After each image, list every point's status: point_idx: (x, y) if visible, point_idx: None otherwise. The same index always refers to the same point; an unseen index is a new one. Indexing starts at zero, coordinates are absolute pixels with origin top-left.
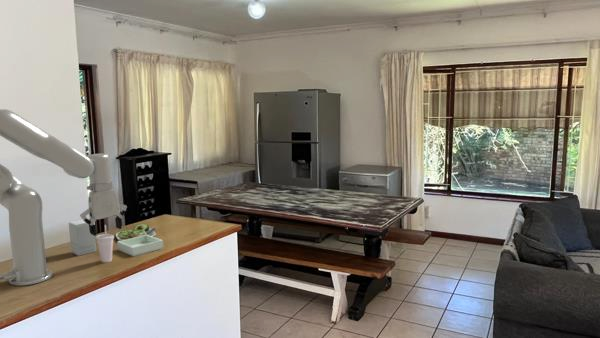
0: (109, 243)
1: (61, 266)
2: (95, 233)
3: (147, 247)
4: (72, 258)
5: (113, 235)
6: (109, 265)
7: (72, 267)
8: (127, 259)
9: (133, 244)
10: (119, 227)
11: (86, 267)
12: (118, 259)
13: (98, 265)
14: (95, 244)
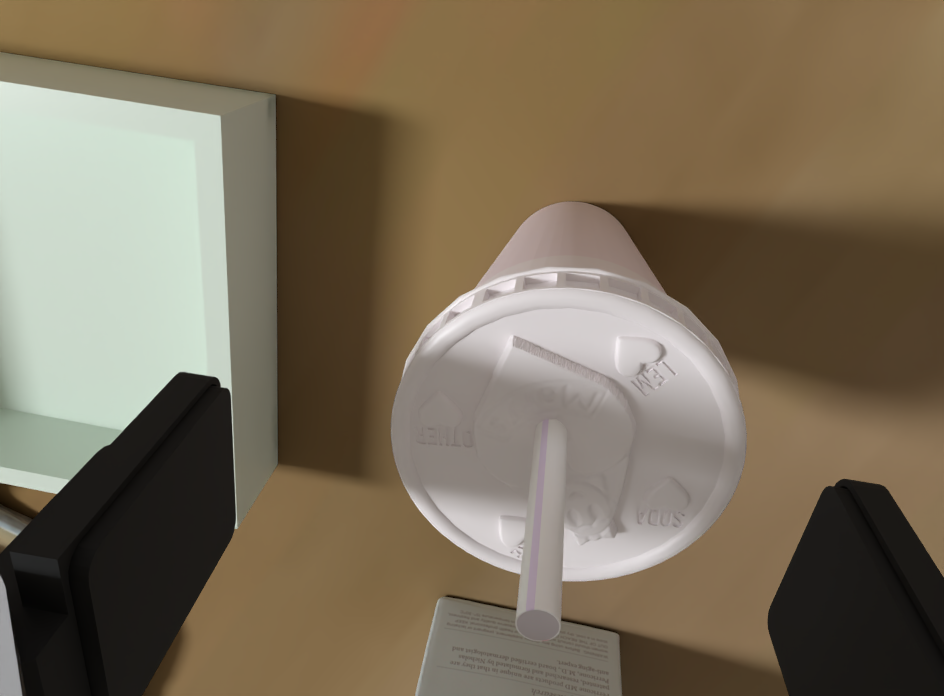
0: (571, 262)
1: (936, 527)
2: (872, 505)
3: (20, 72)
4: (696, 620)
5: (435, 339)
6: (677, 61)
7: (923, 407)
8: (388, 63)
9: (92, 428)
10: (213, 410)
11: (863, 266)
12: (457, 176)
13: (742, 198)
14: (427, 658)
